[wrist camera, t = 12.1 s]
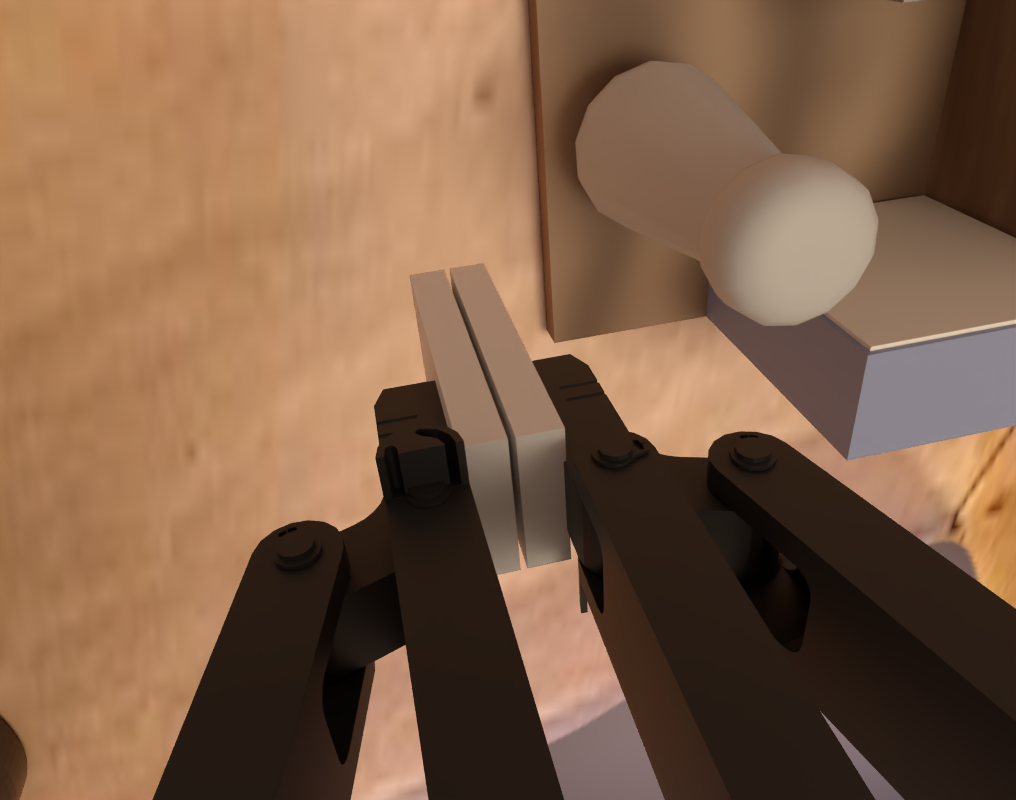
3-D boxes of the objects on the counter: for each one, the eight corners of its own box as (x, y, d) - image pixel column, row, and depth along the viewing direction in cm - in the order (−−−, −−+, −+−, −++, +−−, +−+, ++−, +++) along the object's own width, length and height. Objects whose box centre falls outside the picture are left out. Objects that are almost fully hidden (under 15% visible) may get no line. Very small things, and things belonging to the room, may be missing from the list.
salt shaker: (687, 24, 28) (923, 97, 17) (717, 171, 31) (931, 309, 21) (538, 89, 28) (680, 202, 18) (582, 229, 32) (726, 397, 21)
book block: (706, 315, 35) (847, 460, 26) (712, 226, 33) (868, 351, 24) (906, 280, 36) (1106, 406, 27) (924, 192, 34) (1150, 297, 25)
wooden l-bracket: (547, 330, 35) (623, 465, 27) (522, -92, 26) (625, -91, 18) (912, 266, 37) (1088, 371, 29) (1001, -140, 29) (1290, -158, 20)
